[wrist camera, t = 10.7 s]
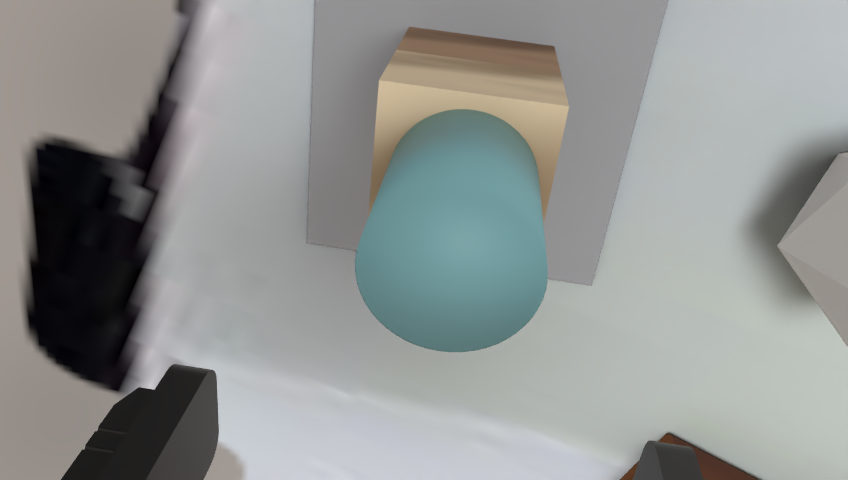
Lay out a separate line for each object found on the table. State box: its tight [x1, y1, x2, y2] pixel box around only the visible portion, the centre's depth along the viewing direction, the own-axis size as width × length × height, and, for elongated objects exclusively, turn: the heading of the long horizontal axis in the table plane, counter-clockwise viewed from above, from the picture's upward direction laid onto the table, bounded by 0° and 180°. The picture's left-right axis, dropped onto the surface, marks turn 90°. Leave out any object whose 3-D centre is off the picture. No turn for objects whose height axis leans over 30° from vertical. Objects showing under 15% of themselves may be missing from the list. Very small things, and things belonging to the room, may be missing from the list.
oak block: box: [368, 50, 569, 225], centre depth 25 cm, size 6×6×4 cm
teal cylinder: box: [355, 109, 548, 352], centre depth 21 cm, size 5×5×6 cm
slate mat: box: [307, 0, 668, 286], centre depth 31 cm, size 16×14×1 cm
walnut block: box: [396, 27, 561, 72], centre depth 29 cm, size 6×6×4 cm
